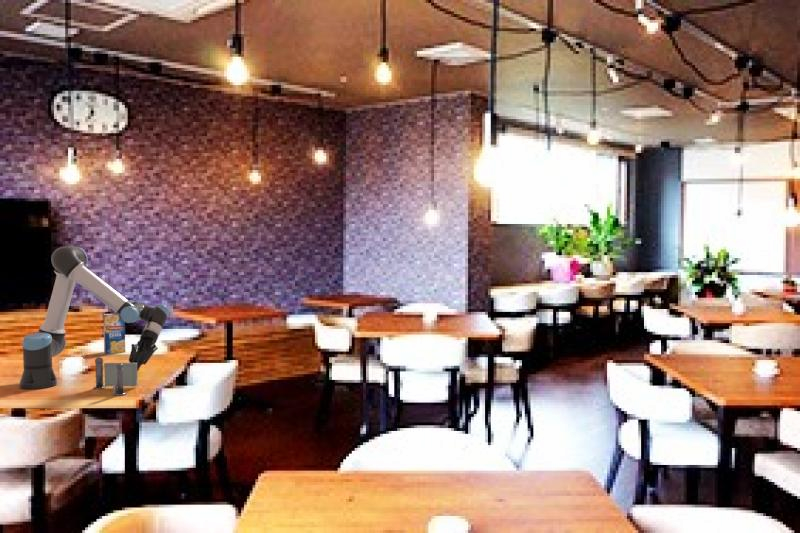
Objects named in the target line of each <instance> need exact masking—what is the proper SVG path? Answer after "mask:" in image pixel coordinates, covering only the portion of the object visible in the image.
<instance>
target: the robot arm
mask: <svg viewBox="0 0 800 533" xmlns="http://www.w3.org/2000/svg"><path fill="white" fill-rule="evenodd" d="M50 259H51V264H52V267H53V268H54V270H53V272H54V273H55V275H56V276H55V281H54V284H53V289H52V293H51V296H50V298H49V299H50V300H49V304H48V308H47V311H46V315H45V318H44V323H43V324H42V325H40V326H39V328H38V332H34V333H30V334H27V335H25V336H24V337H23V338H22V346H21V347H22V358H23V359H22V360H23V371H22V374H21V378H20V381H19V389H22V390H23V389H24V390H37V389H47V388H51V387H54V386H56V385H58V378H57V375H56V374H55V371H54V369H53V358H54V357H56V356H58V355H60V354H61V353H62V352H63V351H64V349H65V347H66V343H67V342H66V338H65V336H66V334H67V331H66V329H65V323H66V320H67V316H68V312H69V308H70V305H71V300H72V297H73V293H74V290H75V286H76V283H78V284H79V285H80V286H81V287H83V288H84V289H85V290H86V291H88V292H89V293H90V294H91V295H92V296H94V297H95V298H97V300H99V301H100V302H102V303H103V304H104V305H106V306H107V307H108V308H109V309H111V310H112V311H114V312H115V314H119V315H120V316H121V319H122V320H123V321H124V322H125V324H126V323H127V324H130V323H133V324H134V323H135V322H136V321H138V320H140V321H143V322H146V324H145V326H144V328H143V331H142V332H141V333H140V336H139V337H140V338H139V340H138V341H137V343H131V350H130V355H129V358H128V361H129V362H128V363H137V372H139V370H140V368H141V367H142V365H147V362H148V361H149V360H150V359H151V357H152V356H153V354H154V353H155V352H156V351H157V350H158V349H159V347H158V346H157V345H156V343H157V341H158V339H159V336H160V334H161V333H162V330H163V328H164V326H165V324H166V323H167V320H168V318H169V315H170V312H171V311H170V308H169V307H168V306H166V305H164V304H162V303H158V304H155V306H150V305H147V304H145V303H141V302H138V301H134V300H128V299H127V298H125V296H123V295H122V294H120V293H119V292H118V291H117V290H115V288H113V287H112V286H110V284H108V283H107V282H105V281H104V280H103V279H101V278H100V277H99V276H98V275H96V274H95V273H94V272H92V271H91V270H90V269H88V267H86V266H87V264H88V261H89V260H88V254H87V253H86V251H85V250H84V249H83V248H81V247H79V246H76V245H68V246H61V247H58V248H56V249H55V250H54V251H53V252H52V254H51V258H50ZM148 363H149V362H148Z"/></svg>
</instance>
